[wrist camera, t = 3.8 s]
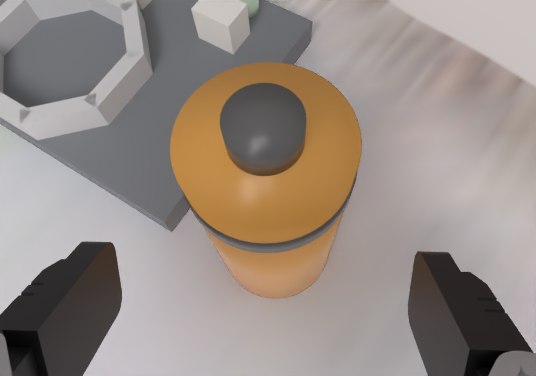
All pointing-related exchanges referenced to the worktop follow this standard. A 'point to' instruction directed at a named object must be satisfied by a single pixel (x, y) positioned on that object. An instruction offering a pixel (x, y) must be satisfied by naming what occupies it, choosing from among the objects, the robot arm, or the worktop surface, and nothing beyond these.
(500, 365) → the robot arm
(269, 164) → the orange bottle
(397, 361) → the worktop surface
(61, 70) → the board
